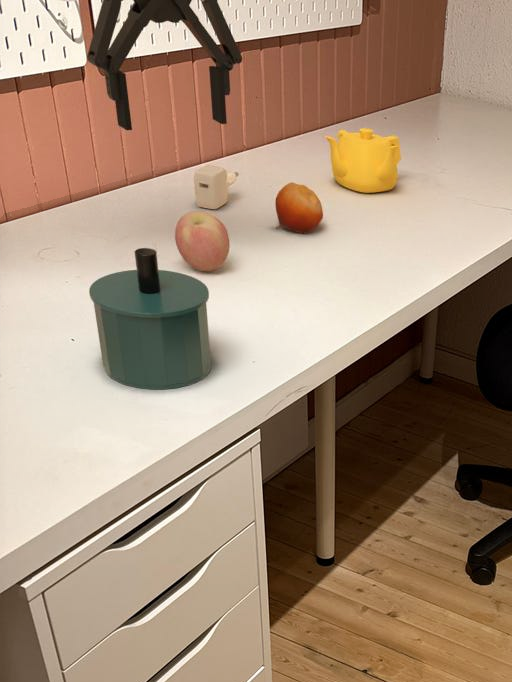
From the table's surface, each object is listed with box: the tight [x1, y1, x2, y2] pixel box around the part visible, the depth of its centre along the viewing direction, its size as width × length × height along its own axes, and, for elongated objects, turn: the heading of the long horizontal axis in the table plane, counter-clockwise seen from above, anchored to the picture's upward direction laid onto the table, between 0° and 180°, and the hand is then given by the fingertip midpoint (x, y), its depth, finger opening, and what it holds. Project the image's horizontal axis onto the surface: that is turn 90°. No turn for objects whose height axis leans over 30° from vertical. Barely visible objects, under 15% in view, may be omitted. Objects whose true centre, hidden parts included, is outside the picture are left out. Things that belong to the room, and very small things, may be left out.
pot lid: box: [88, 247, 210, 318], centre depth 111 cm, size 13×13×6 cm
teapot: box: [323, 127, 402, 194], centre depth 181 cm, size 14×13×10 cm
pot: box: [93, 302, 212, 390], centre depth 116 cm, size 13×13×9 cm
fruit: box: [274, 182, 324, 234], centre depth 160 cm, size 8×8×8 cm
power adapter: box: [193, 164, 239, 210], centre depth 166 cm, size 11×5×6 cm, turn 168°
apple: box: [174, 211, 231, 272], centre depth 141 cm, size 8×8×8 cm
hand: (173, 124), depth 130 cm, fingers open, 13 cm apart
